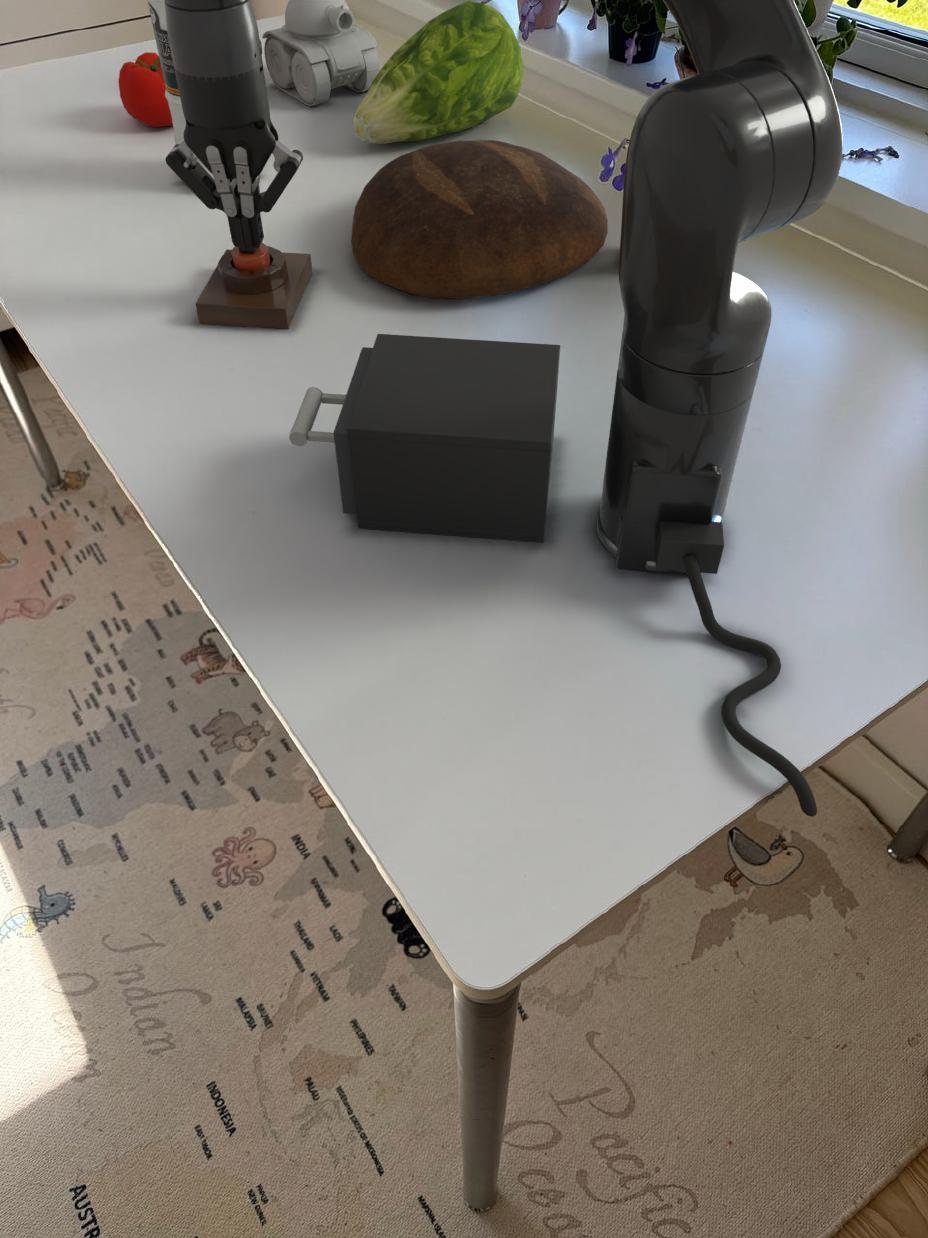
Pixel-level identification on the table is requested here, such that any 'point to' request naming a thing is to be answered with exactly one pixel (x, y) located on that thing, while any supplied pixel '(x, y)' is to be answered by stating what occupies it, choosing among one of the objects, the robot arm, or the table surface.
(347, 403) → the drawer
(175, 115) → the vodka
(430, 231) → the bread
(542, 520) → the cabinet
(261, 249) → the button
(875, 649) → the table surface
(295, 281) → the brown button base
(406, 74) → the lettuce
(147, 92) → the red bell pepper
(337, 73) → the toy tank
